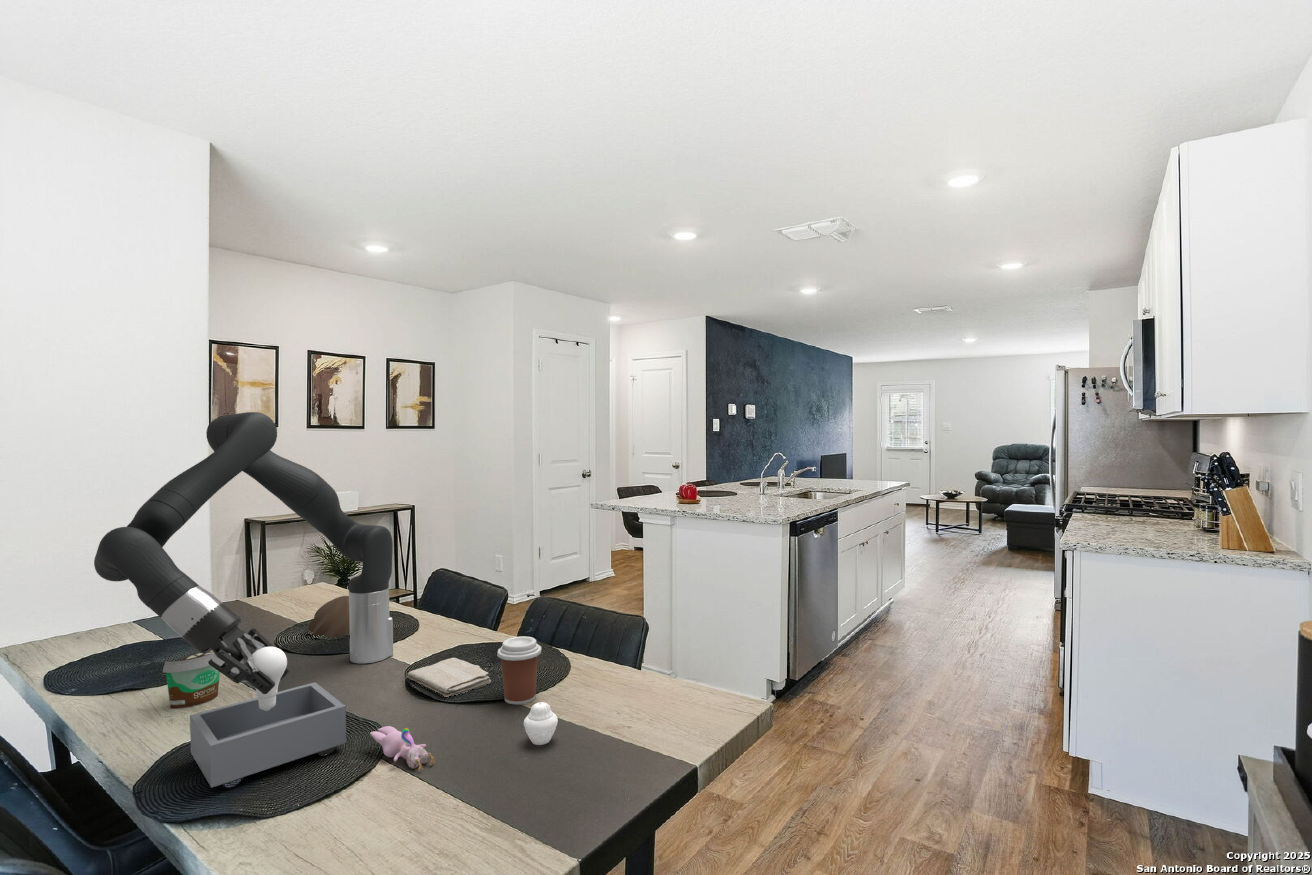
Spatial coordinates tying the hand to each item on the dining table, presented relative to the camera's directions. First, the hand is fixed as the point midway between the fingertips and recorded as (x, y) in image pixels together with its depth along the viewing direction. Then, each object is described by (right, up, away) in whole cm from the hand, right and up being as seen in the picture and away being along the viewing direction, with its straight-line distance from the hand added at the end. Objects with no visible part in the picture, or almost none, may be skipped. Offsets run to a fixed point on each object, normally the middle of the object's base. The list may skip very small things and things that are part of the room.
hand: (277, 682), depth 113 cm
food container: (-30, -13, +25) cm, 41 cm away
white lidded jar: (+45, -12, +4) cm, 47 cm away
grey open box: (-1, -13, 0) cm, 13 cm away
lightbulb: (-2, -5, 0) cm, 5 cm away
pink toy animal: (+22, -13, -1) cm, 25 cm away
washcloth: (+19, -13, +33) cm, 41 cm away
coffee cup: (+38, -12, +23) cm, 46 cm away
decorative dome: (-23, -13, +73) cm, 78 cm away
